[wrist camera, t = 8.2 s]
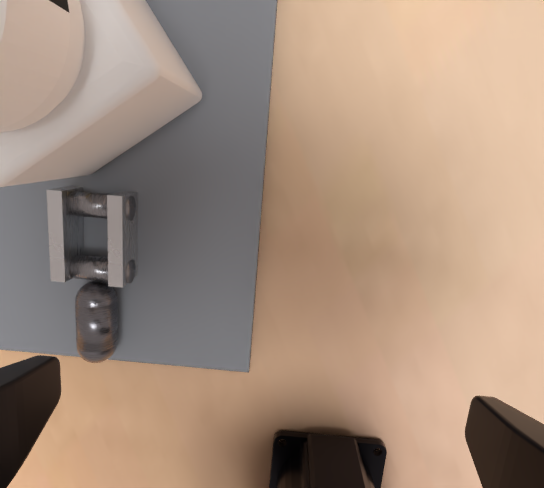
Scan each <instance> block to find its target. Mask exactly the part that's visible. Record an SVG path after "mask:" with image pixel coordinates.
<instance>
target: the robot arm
mask: <svg viewBox="0 0 544 488" xmlns="http://www.w3.org/2000/svg"><path fill="white" fill-rule="evenodd" d="M60 395H61V376H60V362H59V360H58V359H57V358H56V357H52V356H41V355H40V356H35V357H32V358H29V359H26V360H23V361H20V362H17V363H14V364H11V365H8V366H5V367H2V368H0V488H7V486H8V485H9V484H10V482H11V481H12V479H13V478H14V476H15V475H16V473H17V472H18V470H19V469H20V468H21V466H22V464H23V463H24V461H25V459H26V458H27V456H28V454H29V453H30V451H31V449H32V447H33V446H34V444H35V442H36V440H37V439H38V437H39V435H40V433H41V432H42V430H43V428H44V426H45V425H46V423H47V421H48V419H49V418H50V416H51V414H52V412H53V411H54V409H55V407H56V406H57V404H58V402H59V399H60ZM465 437H466V442H467V445H468V447H469V450H470V453H471V456H472V459H473V461H474V464H475V467H476V470H477V473H478V475H479V478H480V481H481V484H482V487H483V488H544V424H542V423H540V422H539V421H537V420H535V419H533V418H531V417H530V416H528V415H526V414H524V413H522V412H520V411H519V410H517V409H515V408H513V407H511V406H510V405H508V404H506V403H504V402H502V401H500V400H499V399H497V398H494V397H487V396H475V397H474V398H473V399H472V401H471V405H470V409H469V414H468V418H467V423H466V427H465ZM280 439H284V440H286V441H285V442H281V441H279V440H280ZM376 448H380V450H378V451H375V449H376ZM386 453H387V452H386V447H385V445H384V443H383V442H382V441H381V440H376V439H365V438H355V437H345V436H334V435H324V434H312V433H301V432H291V431H279V432H277V433H276V434H275V436H274V442H273V452H272V463H271V473H270V484H269V488H381V482H382V476H383V471H384V465H385V459H386Z"/></svg>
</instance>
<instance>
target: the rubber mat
mask: <svg viewBox="0 0 544 488" xmlns="http://www.w3.org/2000/svg"><path fill="white" fill-rule="evenodd" d="M146 2H147V3H148V5H149V7H150V8H151V10H152V12H153V13H154V15H155V17H156V18H157V20H158V21H159V23H160V25H161V26H162V28H163V30H164V31H165V33H166V34H167V36H168V38H169V39H170V41H171V43H172V44H173V46H174V47H175V49H176V51H177V52H178V54H179V56H180V57H181V59H182V61H183V62H184V64H185V65H186V67H187V69H188V70H189V72H190V74H191V75H192V77H193V78H194V80H195V82H196V83H197V85H198V87H199V88H200V90H201V92H202V99H201V100H200V101H199V102H198V103H197V104H195V105H194V106H192V107H191V108H189V109H188V110H186V111H185V112H183V113H182V114H180V115H179V116H177V117H176V118H174V119H173V120H171V121H170V122H168V123H167V124H165V125H164V126H162V127H161V128H159V129H158V130H156V131H155V132H153V133H152V134H150V135H149V136H148V137H146V138H145V139H143V140H142V141H140V142H139V143H137V144H136V145H134V146H133V147H131V148H130V149H128V150H127V151H125V152H124V153H122V154H121V155H119V156H118V157H116V158H115V159H113V160H112V161H110V162H109V163H107V164H106V165H104V166H103V167H101V168H100V169H98V170H97V171H95V172H94V173H92V174H90V175H86V176H79V177H71V178H64V179H57V180H49V181H42V182H35V183H27V184H20V185H13V186H5V187H0V349H1V350H11V351H22V352H33V353H44V354H55V355H66V356H77V357H81V356H80V355H79V353H78V351H77V347H76V321H75V297H76V294H77V292H78V290H79V289H80V288H81V287H82V286H83V285H84V284H86V283H88V282H91V281H96V280H84V279H73V278H72V279H70V280H68V281H67V282H55V281H51V276H50V255H49V233H48V212H47V191H46V190H48V189H54V188H60V187H66V186H76V187H83V192H91V193H103V194H113V193H117V192H121V191H135V192H138V273H137V276H136V277H135V278H134V280H133V282H132V283H130V284H129V283H127V284H126V285H125V286H124V287H123V288H122V287H113V288H114V290H115V291H116V294H117V307H118V343H117V348H116V350H115V352H114V353H113V355H112V356H111V357H110V358H108V359H109V360H120V361H131V362H142V363H153V364H164V365H175V366H185V367H196V368H207V369H218V370H229V371H240V372H249V367H250V354H251V340H252V327H253V314H254V301H255V288H256V274H257V261H258V248H259V235H260V222H261V209H262V195H263V182H264V169H265V156H266V143H267V129H268V116H269V103H270V90H271V77H272V64H273V50H274V37H275V24H276V11H277V0H146ZM84 248H85V256H97V257H108V226H107V219H104V218H92V217H84ZM103 282H106V283H108V282H107V281H103Z"/></svg>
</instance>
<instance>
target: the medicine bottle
mask: <svg viewBox="0 0 544 488" xmlns="http://www.w3.org/2000/svg"><path fill="white" fill-rule="evenodd" d="M201 99H202V92H201V90H200V88H199V87H198V85H197V83H196V82H195V80H194V78H193V77H192V75H191V74H190V72H189V70H188V69H187V67H186V65H185V64H184V62H183V61H182V59H181V57H180V56H179V54H178V52H177V51H176V49H175V47H174V46H173V44H172V43H171V41H170V39H169V38H168V36H167V34H166V33H165V31H164V30H163V28H162V26H161V25H160V23H159V21H158V20H157V18H156V17H155V15H154V13H153V12H152V10H151V8H150V7H149V5H148V3H147V2H146V0H0V187H5V186H13V185H20V184H27V183H35V182H42V181H49V180H57V179H64V178H71V177H79V176H86V175H90V174H92V173H94V172H95V171H97V170H98V169H100V168H101V167H103V166H104V165H106V164H107V163H109V162H110V161H112V160H113V159H115V158H116V157H118V156H119V155H121V154H122V153H124V152H125V151H127V150H128V149H130V148H131V147H133V146H134V145H136V144H137V143H139V142H140V141H142V140H143V139H145V138H146V137H148V136H149V135H150V134H152V133H153V132H155V131H156V130H158V129H159V128H161V127H162V126H164V125H165V124H167V123H168V122H170V121H171V120H173V119H174V118H176V117H177V116H179V115H180V114H182V113H183V112H185V111H186V110H188V109H189V108H191V107H192V106H194V105H195V104H197V103H198V102H199V101H200V100H201Z"/></svg>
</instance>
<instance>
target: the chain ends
mask: <svg viewBox="0 0 544 488" xmlns="http://www.w3.org/2000/svg"><path fill="white" fill-rule="evenodd" d="M46 191H47V212H48V233H49V255H50V276H51V281H55V282H67V281H68V280H70V279H72V278H73V279H84V280H96V281H91V282H88V283H86V284H84V285H83V286H82V287H81V288H80V289H79V290H78V292H77V294H76V297H75V321H76V347H77V351H78V353H79V355H80V356H81V357H82V358H83V359H84V360H86V361H88V362H92V363H98V362H102V361H105V360H107V359H108V358H110V357H111V356H112V355H113V353H114V352H115V350H116V348H117V343H118V307H117V294H116V291H115V290H114V288H113V287H122V288H123V287H124V286H125V285H126V284H127V283H129V284H130V283H132V282H133V280H134V278H135V277H136V276H137V273H138V192H135V191H121V192H117V193H113V194H103V193H91V192H83V187H76V186H66V187H60V188H54V189H48V190H46ZM84 217H92V218H104V219H107V226H108V257H97V256H85V248H84ZM103 281H107V282H108V283H106V282H103Z"/></svg>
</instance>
